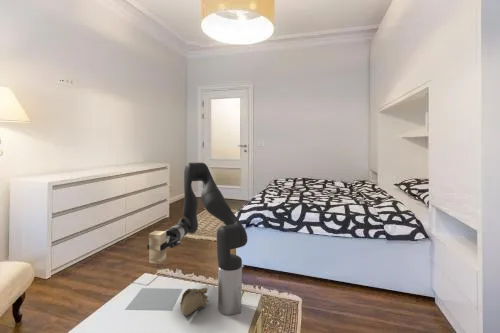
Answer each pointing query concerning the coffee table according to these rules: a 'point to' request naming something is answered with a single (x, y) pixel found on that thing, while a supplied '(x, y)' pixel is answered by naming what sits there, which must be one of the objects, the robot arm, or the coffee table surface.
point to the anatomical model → (193, 300)
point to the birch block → (157, 247)
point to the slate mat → (155, 299)
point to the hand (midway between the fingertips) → (154, 247)
